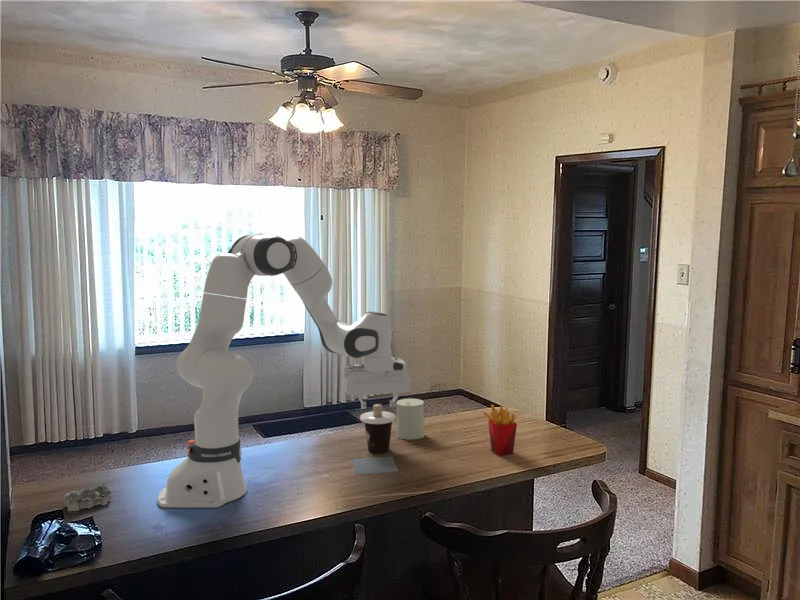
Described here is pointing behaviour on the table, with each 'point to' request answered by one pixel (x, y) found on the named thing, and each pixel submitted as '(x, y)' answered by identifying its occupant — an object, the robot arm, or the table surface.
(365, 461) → the mat
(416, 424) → the can
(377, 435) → the dark brown two-tone container
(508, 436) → the french fries
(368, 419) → the lid
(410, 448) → the table surface
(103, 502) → the egg carton
